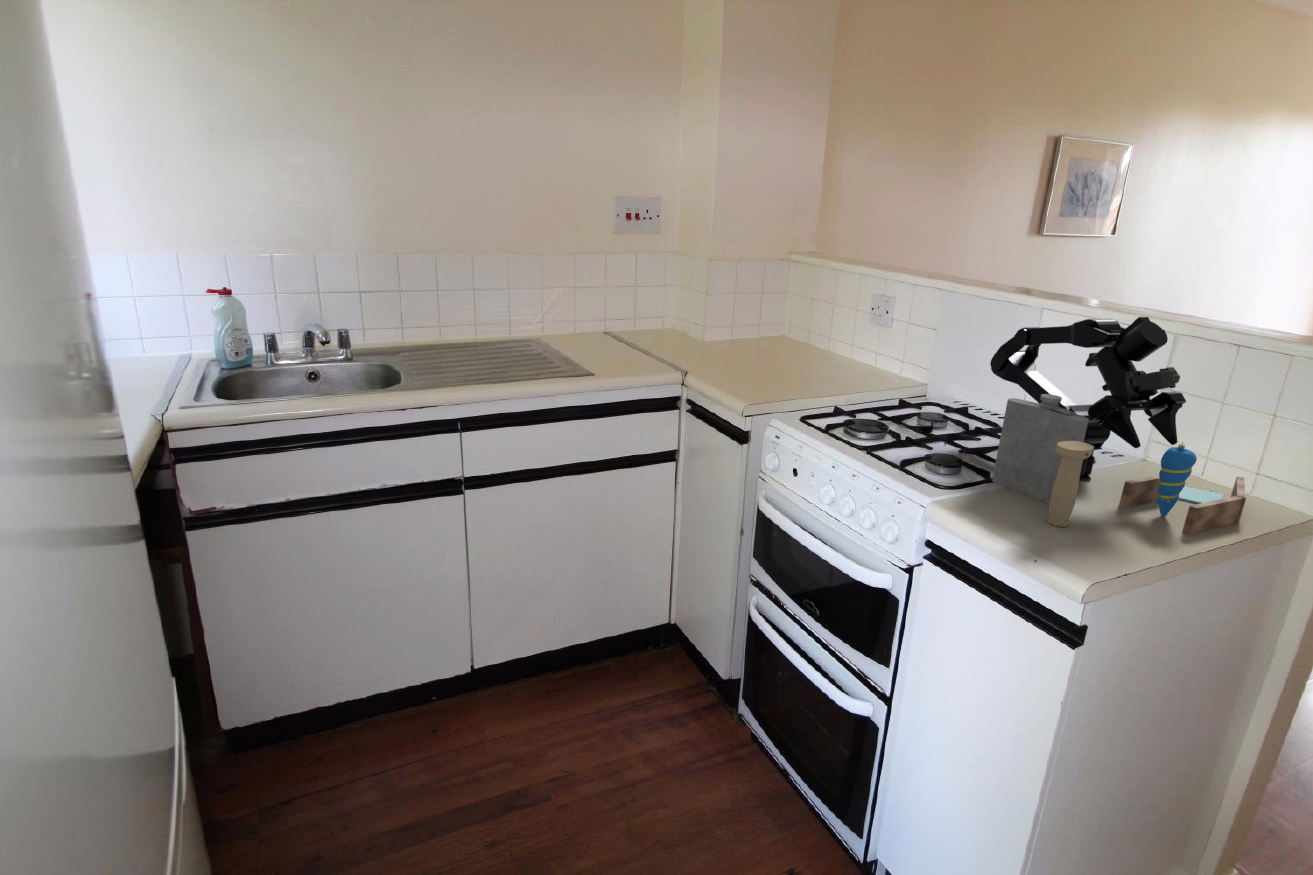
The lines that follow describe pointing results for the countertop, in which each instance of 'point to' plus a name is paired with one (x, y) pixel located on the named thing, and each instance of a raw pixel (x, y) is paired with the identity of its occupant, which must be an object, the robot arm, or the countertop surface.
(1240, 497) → the channel
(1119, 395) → the robot arm
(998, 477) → the hip flask
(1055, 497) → the handle
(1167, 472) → the ornament
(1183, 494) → the pad
